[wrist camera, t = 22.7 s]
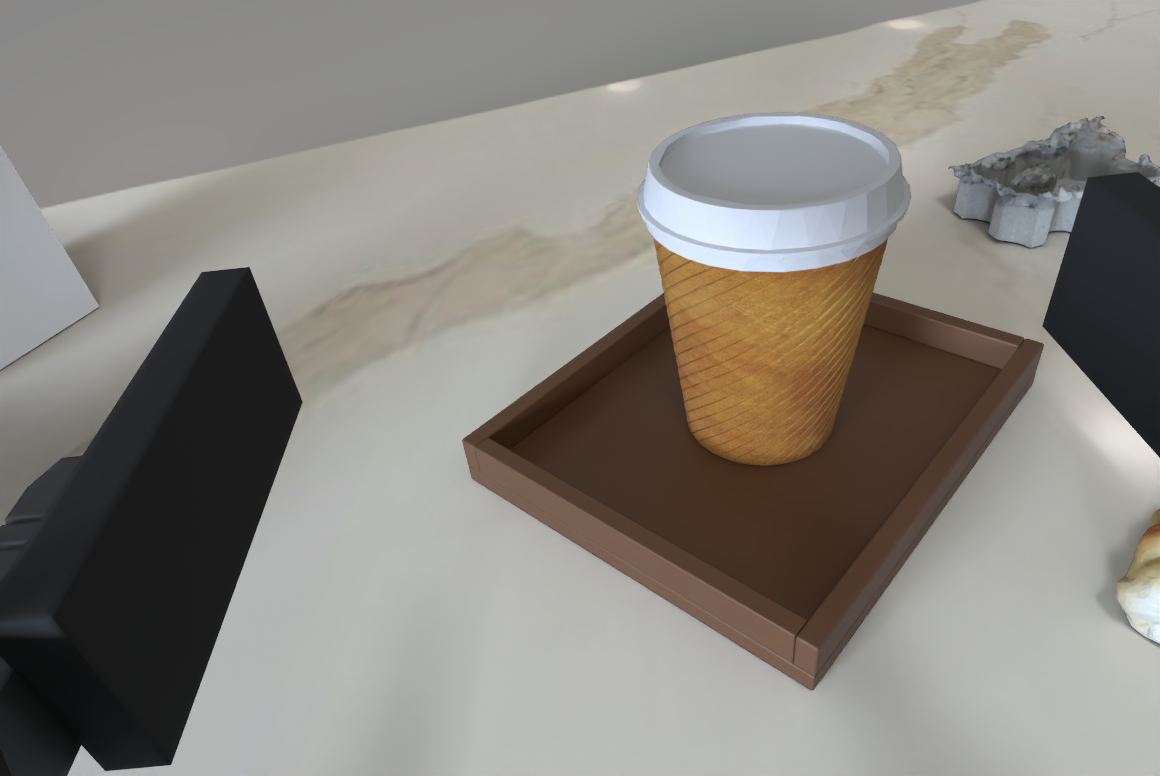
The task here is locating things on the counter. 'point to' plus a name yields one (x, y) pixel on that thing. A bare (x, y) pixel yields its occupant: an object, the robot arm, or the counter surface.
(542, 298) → the counter surface
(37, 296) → the milk
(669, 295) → the disposable coffee cup
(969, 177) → the egg carton
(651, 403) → the serving tray
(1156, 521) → the pastry
